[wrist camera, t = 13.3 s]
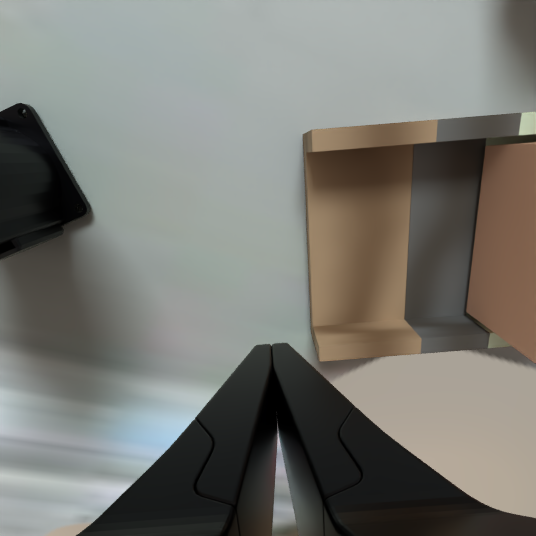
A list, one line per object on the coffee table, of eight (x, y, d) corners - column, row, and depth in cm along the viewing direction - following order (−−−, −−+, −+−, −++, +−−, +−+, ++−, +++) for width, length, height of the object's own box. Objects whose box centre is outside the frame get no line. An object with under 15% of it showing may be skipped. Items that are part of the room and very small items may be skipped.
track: (311, 332, 23) (319, 361, 20) (302, 134, 19) (311, 129, 16) (585, 310, 23) (639, 336, 20) (634, 107, 19) (711, 97, 16)
